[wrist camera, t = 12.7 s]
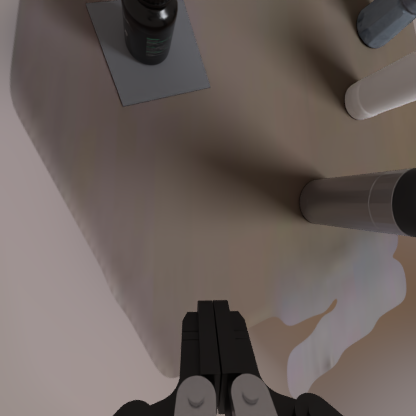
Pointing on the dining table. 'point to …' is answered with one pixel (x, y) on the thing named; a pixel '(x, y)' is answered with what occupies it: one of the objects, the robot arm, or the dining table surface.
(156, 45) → the supplement bottle
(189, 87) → the rubber mat
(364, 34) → the moka pot
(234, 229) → the dining table surface
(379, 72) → the bottle
